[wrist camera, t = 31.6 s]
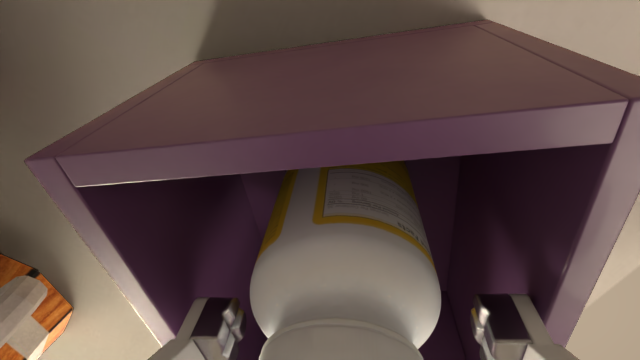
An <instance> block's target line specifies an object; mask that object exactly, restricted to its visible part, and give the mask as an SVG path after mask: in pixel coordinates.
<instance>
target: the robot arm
mask: <svg viewBox="0 0 640 360" xmlns="http://www.w3.org/2000/svg"><path fill="white" fill-rule="evenodd" d="M473 304H474V308H473V309H471V314H470V319H471V327H472V332H473V335H474V338H475V340H476V341H477V342H478V343H479V344H480V345H481V347H480V352H479V354H480V358H481V360H579V359H578V358H576V357H575V356H574V355H573V354H572V353H570V352H569V351H567V350H566V349H565V348H564V347H563V346H561V345H560V344H554V342H553V341H552V339H551V337H550V335H549V333H548V331H547V329H546V327H545V325H544V324H543V322H542V320H541V318H540V316H539V314H538V312H537V310H536V309H535V307H534V305H533V303H532V301H531V299H530V297H529V296H528V295H527V294H524V293H522V294H507V293H502V294H475V295H474V296H473ZM239 306H240V301H239V299H238V297H198V298H197V299H196V300H195V301H194V302H193V304H192V306H191V308H190V310H189V312H188V314H187V316H186V318H185V320H184V322H183V324H182V326H181V328H180V330H179V332H178V334H177V336H176V338H175V339H171V340H170V341H169V342H167V343H166V344H165V345H164V346H163V347H162V348H160V349H159V350H158V351H157V352H156V353H155V354H153V355H152V356H151V357H150V358H149V359H148V360H237V357H238V354H239V351H240V348H239V345H238V342H239V341H240V340H241V339H242V338H243V337H244V334H245V331H246V324H247V319H246V314H245V312H244V310H242V309H241V308H239Z"/></svg>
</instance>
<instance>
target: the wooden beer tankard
mask: <svg viewBox="0 0 640 360" xmlns="http://www.w3.org/2000/svg"><path fill="white" fill-rule="evenodd" d="M73 309H74V308H73V307H72V306H71V305H70V304H69V303H68V302H67V301H66V300H65V299H64V298H63V297H62V295H61V294H60V293H59V292H58V291H57V290H56V289H55V288H54V287H53V286H52V285H51V284H50V283H49V282H48V281H47V279H46V278H45V277H44V276H43V275H42V274H41V273H40V272H39V271H38V270H36V269H34V268H31V267H29V266H27V265H25V264H22V263H20V262H18V261H15V260H13V259H11V258H8V257H6V256H4V255H1V254H0V360H37V359H38V358H39V357H40V356H41V355H42V354H43V353H44V351H45V350H46V349H47V348H48V347H49V346H50V345H51V344H52V343H53V342H54V341H55V340H56V339H57V338H58V337H59V336H60V335H61V334H62V333H63V332H64V330H65V328H66V325H67V323H68V321H69V318H70V316H71V313H72V311H73Z"/></svg>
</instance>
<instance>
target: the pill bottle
mask: <svg viewBox="0 0 640 360" xmlns="http://www.w3.org/2000/svg"><path fill="white" fill-rule="evenodd" d="M250 303H251V308H252V312H253V315H254V317H255V319H256V322H257V323H258V325H259V327H260V328H261V330H262V331H263V333H264V334H265V335H266V336H267V338H268V339H267V341H266V342H265V344H264V345H263V347H262V350H261V354H260V356H259V359H258V360H424V359H423V357H422V355H421V353H420V352H419V350H418V349H419V348H420V347H421V346H422V345H423V344H424V343H425V342H426V340H427V339H428V338H429V336H430V335H431V334H432V332H433V330H434V328H435V326H436V324H437V322H438V318H439V315H440V310H441V291H440V285H439V281H438V277H437V273H436V269H435V266H434V262H433V259H432V255H431V251H430V248H429V244H428V241H427V237H426V233H425V230H424V226H423V223H422V219H421V216H420V212H419V209H418V205H417V201H416V198H415V194H414V191H413V187H412V184H411V180H410V177H409V173H408V170H407V167H406V164H405V161H404V160H402V161H390V162H378V163H366V164H354V165H341V166H329V167H317V168H305V169H293V170H286V173H285V176H284V179H283V182H282V185H281V188H280V191H279V193H278V196H277V199H276V202H275V205H274V208H273V211H272V214H271V217H270V220H269V223H268V227H267V230H266V233H265V236H264V239H263V242H262V245H261V248H260V251H259V254H258V257H257V260H256V263H255V266H254V270H253V273H252V277H251V282H250Z"/></svg>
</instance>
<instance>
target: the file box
mask: <svg viewBox="0 0 640 360" xmlns="http://www.w3.org/2000/svg"><path fill="white" fill-rule="evenodd" d="M402 160H404V161H405V164H406V167H407V170H408V173H409V177H410V180H411V184H412V187H413V191H414V194H415V198H416V201H417V205H418V209H419V212H420V216H421V219H422V223H423V226H424V230H425V233H426V237H427V241H428V244H429V248H430V251H431V255H432V259H433V262H434V266H435V269H436V273H437V277H438V281H439V285H440V291H441V310H440V315H439V318H438V322H437V324H436V326H435V328H434V330H433V332H432V334H431V335H430V336H429V338H428V339H427V340H426V342H425V343H424V344H423V345H422V346H421V347H420V348H419V349H418V350H419V352H420V353H421V355H422V357H423V359H424V360H481V358H480V354H479V352H480V347H481V345H480V344H479V343H478V342H477V341H476V340H475V338H474V335H473V332H472V327H471V319H470V314H471V309H473V308H474V304H473V296H474V295H475V294H502V293H507V294H522V293H524V294H527V295H528V296H529V297H530V299H531V301H532V303H533V305H534V307H535V309H536V310H537V312H538V314H539V316H540V318H541V320H542V322H543V324H544V325H545V327H546V329H547V331H548V333H549V335H550V337H551V339H552V341H553V342H554V344H560V345H561V346H563V347H564V348H565V347H566V345H567V342H568V340H569V338H570V336H571V334H572V332H573V330H574V328H575V326H576V324H577V322H578V320H579V317H580V315H581V313H582V311H583V309H584V307H585V305H586V303H587V301H588V299H589V297H590V294H591V292H592V290H593V288H594V286H595V284H596V282H597V280H598V278H599V276H600V274H601V272H602V269H603V267H604V265H605V263H606V261H607V259H608V257H609V255H610V253H611V251H612V249H613V247H614V244H615V242H616V240H617V238H618V236H619V234H620V232H621V230H622V228H623V226H624V224H625V222H626V219H627V217H628V215H629V213H630V211H631V209H632V207H633V205H634V203H635V201H636V199H637V196H638V194H639V192H640V77H639V76H637V75H634V74H631V73H629V72H626V71H624V70H621V69H618V68H616V67H613V66H610V65H608V64H605V63H602V62H600V61H597V60H594V59H592V58H589V57H586V56H584V55H581V54H578V53H576V52H573V51H570V50H568V49H565V48H562V47H560V46H557V45H555V44H552V43H549V42H547V41H544V40H541V39H539V38H536V37H533V36H531V35H528V34H525V33H523V32H520V31H517V30H515V29H512V28H509V27H507V26H504V25H501V24H499V23H496V22H493V21H491V20H481V21H474V22H467V23H460V24H453V25H446V26H439V27H432V28H425V29H418V30H411V31H404V32H397V33H390V34H383V35H376V36H369V37H362V38H355V39H348V40H341V41H334V42H327V43H320V44H313V45H306V46H299V47H292V48H285V49H278V50H271V51H264V52H257V53H250V54H243V55H236V56H229V57H222V58H215V59H208V60H201V61H195V62H193V63H191V64H189V65H188V66H186V67H184V68H182V69H180V70H179V71H177V72H175V73H173V74H172V75H170V76H168V77H166V78H165V79H163V80H161V81H160V82H158V83H156V84H154V85H153V86H151V87H149V88H147V89H146V90H144V91H142V92H140V93H139V94H137V95H135V96H134V97H132V98H130V99H128V100H127V101H125V102H123V103H121V104H120V105H118V106H116V107H114V108H113V109H111V110H109V111H108V112H106V113H104V114H102V115H101V116H99V117H97V118H95V119H94V120H92V121H90V122H88V123H87V124H85V125H83V126H82V127H80V128H78V129H76V130H75V131H73V132H71V133H69V134H68V135H66V136H64V137H63V138H61V139H59V140H57V141H56V142H54V143H52V144H50V145H49V146H47V147H45V148H43V149H42V150H40V151H38V152H37V153H35V154H33V155H31V156H30V157H28V158H26V159H25V160H24V162H25V164H26V165H27V166H28V168H29V169H30V170H31V172H32V173H33V174H34V176H35V177H36V178H37V180H38V181H39V182H40V184H41V185H42V186H43V188H44V189H45V190H46V192H47V193H48V194H49V196H50V197H51V198H52V200H53V201H54V202H55V204H56V205H57V206H58V208H59V209H60V210H61V212H62V213H63V214H64V216H65V217H66V218H67V220H68V221H69V222H70V224H71V225H72V226H73V228H74V229H75V231H76V232H77V233H78V235H79V236H80V237H81V239H82V240H83V241H84V243H85V244H86V245H87V247H88V248H89V249H90V251H91V252H92V253H93V255H94V256H95V257H96V259H97V260H98V261H99V263H100V264H101V265H102V267H103V268H104V269H105V271H106V272H107V273H108V275H109V276H110V277H111V279H112V280H113V281H114V283H115V284H116V285H117V287H118V288H119V289H120V291H121V292H122V293H123V295H124V296H125V297H126V299H127V300H128V301H129V303H130V304H131V306H132V307H133V308H134V310H135V311H136V312H137V314H138V315H139V316H140V318H141V319H142V320H143V322H144V323H145V324H146V326H147V327H148V328H149V330H150V331H151V332H152V334H153V335H154V336H155V338H156V339H157V340H158V342H159V343H160V344H161V346H162V347H163V346H164V345H165V344H166V343H167V342H169V341H170V340H171V339H175V338H176V336H177V334H178V332H179V330H180V328H181V326H182V324H183V322H184V320H185V318H186V316H187V314H188V312H189V310H190V308H191V306H192V304H193V302H194V301H195V300H196V299H197V298H198V297H238V299H239V301H240V306H239V308H241V309H242V310H244V312H245V314H246V319H247V324H246V331H245V334H244V337H243V338H242V339H241V340H240V341H239V342H238V345H239V348H240V351H239V354H238V357H237V360H258V359H259V356H260V354H261V350H262V347H263V345H264V344H265V342H266V341H267V339H268V338H267V336H266V335H265V334H264V333H263V331H262V330H261V328H260V327H259V325H258V323H257V322H256V319H255V317H254V315H253V312H252V308H251V303H250V282H251V277H252V273H253V270H254V266H255V263H256V260H257V257H258V254H259V251H260V248H261V245H262V242H263V239H264V236H265V233H266V230H267V227H268V223H269V220H270V217H271V214H272V211H273V208H274V205H275V202H276V199H277V196H278V193H279V191H280V188H281V185H282V182H283V179H284V176H285V173H286V170H293V169H305V168H317V167H329V166H341V165H354V164H366V163H378V162H390V161H402Z"/></svg>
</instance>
